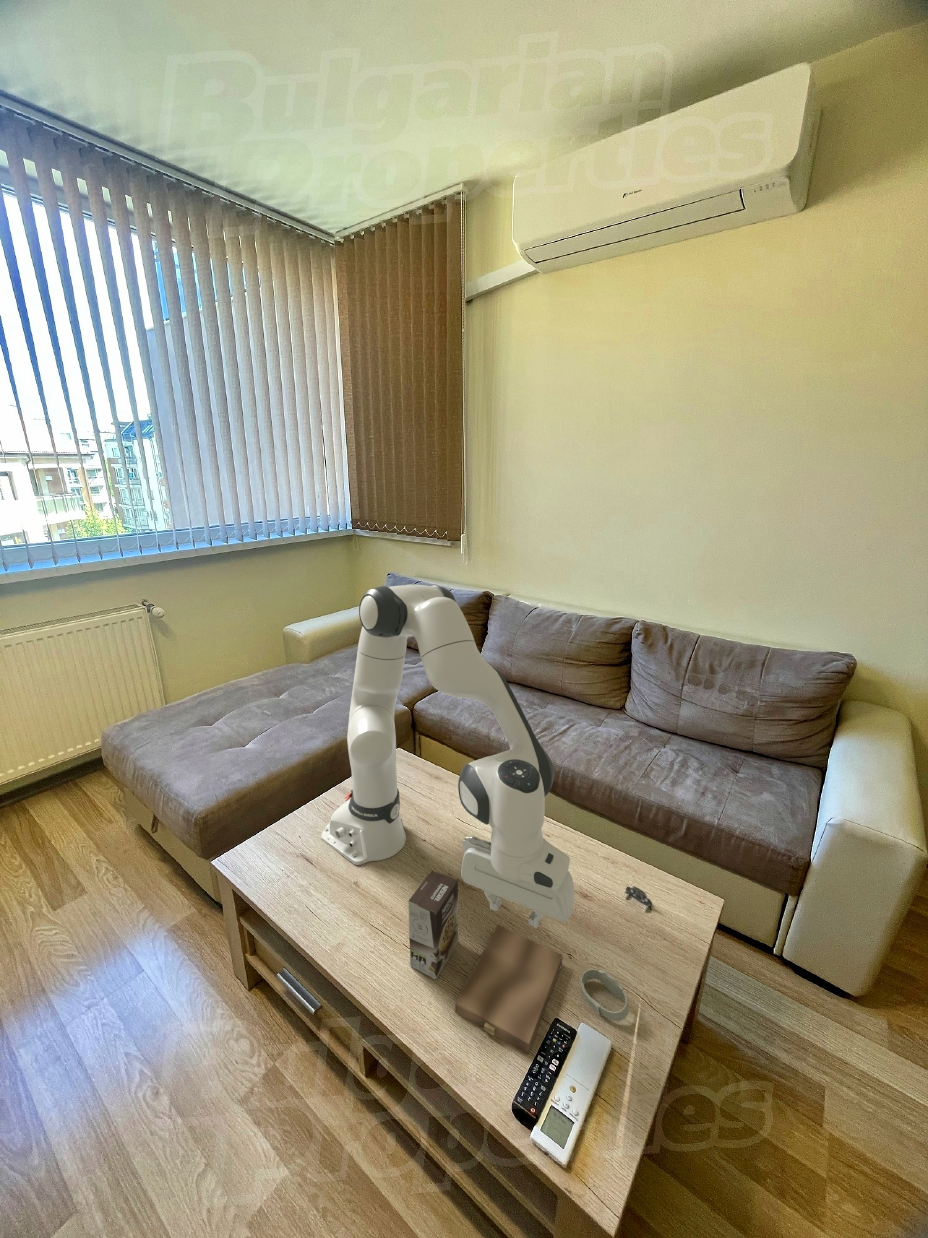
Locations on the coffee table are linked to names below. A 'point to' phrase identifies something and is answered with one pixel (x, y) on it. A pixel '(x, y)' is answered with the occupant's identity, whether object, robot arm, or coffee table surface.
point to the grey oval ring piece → (612, 987)
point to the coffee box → (433, 923)
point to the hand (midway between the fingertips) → (514, 916)
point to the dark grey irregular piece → (639, 896)
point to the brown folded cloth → (510, 988)
